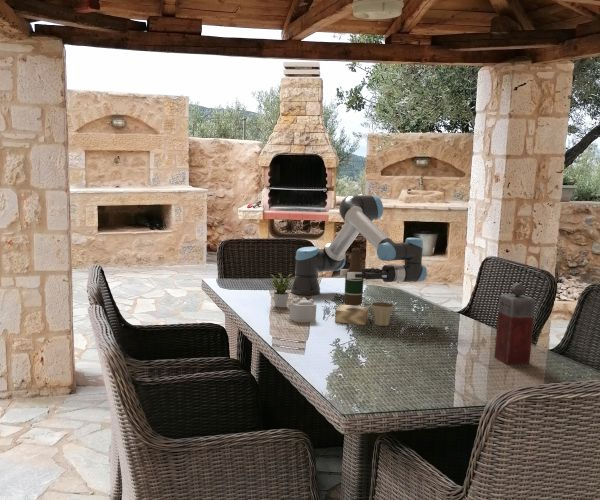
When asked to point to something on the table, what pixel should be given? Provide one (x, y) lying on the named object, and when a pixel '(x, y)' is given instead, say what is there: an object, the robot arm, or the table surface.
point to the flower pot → (382, 313)
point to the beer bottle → (354, 281)
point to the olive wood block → (352, 314)
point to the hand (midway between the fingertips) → (344, 273)
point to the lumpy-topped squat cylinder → (302, 310)
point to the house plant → (281, 291)
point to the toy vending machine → (514, 327)
